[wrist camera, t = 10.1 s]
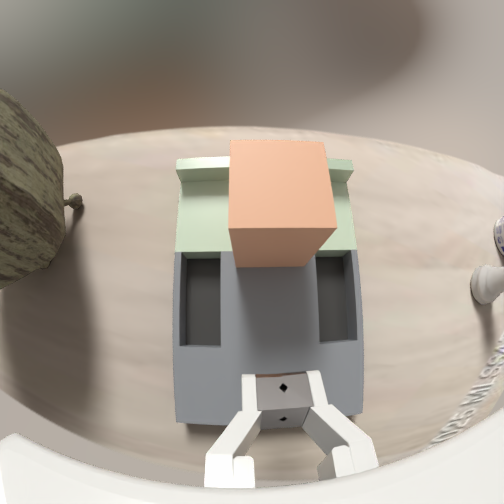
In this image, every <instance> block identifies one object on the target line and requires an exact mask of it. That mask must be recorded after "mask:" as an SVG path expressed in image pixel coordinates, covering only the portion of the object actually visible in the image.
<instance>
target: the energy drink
mask: <svg viewBox="0 0 504 504" xmlns="http://www.w3.org/2000/svg"><path fill="white" fill-rule="evenodd" d="M494 237H495V242H496V245H497V247H498V249H499V251H500V252H501V254H502V255H504V216H503V217H502V218H500V219H498V220H497V221H496V223H495V226H494Z"/></svg>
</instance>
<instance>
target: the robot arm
mask: <svg viewBox="0 0 504 504" xmlns="http://www.w3.org/2000/svg"><path fill="white" fill-rule="evenodd" d="M290 427H302V428H303V429H304V430H305V432H306V433H307V434H308V435H309V436H310V437H311V438H312V440H313V441H314V442H315V443H316V444H317V445H318V446H319V447H320V449H321V450H322V451H323V452H324V453H325V454H326V455H327V456H326V457H325V459H324V460H323V461H322V462H321V463H320V464H319V465H318V466H317V470H318V477H319V481H316V482H310V483H303V484H295V485H285V486H274V487H257V488H255V476H254V461H253V458H251V457H250V456H245V454H246V453H247V451H248V450H249V448H250V447H251V445H252V443H253V442H254V440H255V438H256V437H257V435H258V433H259V432H260V430H264V429H276V428H290ZM0 504H504V407H502V408H501V409H499V410H498V411H496V412H495V413H493V414H492V415H490V416H489V417H487V418H485V419H484V420H482V421H481V422H479V423H477V424H476V425H474V426H472V427H470V428H469V429H467V430H465V431H463V432H461V433H459V434H458V435H456V436H454V437H452V438H450V439H448V440H446V441H444V442H442V443H440V444H437V445H435V446H433V447H431V448H429V449H426V450H424V451H421V452H419V453H417V454H414V455H412V456H409V457H406V458H404V459H401V460H398V461H395V462H392V463H389V464H386V465H383V466H380V467H379V464H378V461H377V457H376V453H375V450H374V446H373V443H372V439H371V438H370V437H369V436H368V435H367V434H365V433H364V432H363V431H362V430H361V429H360V428H358V427H357V426H356V425H355V424H354V423H353V422H351V421H350V420H349V419H348V418H347V417H346V416H345V415H343V414H342V413H341V412H340V411H339V410H338V409H337V408H336V407H334V406H333V405H332V404H330V405H328V401H327V397H326V393H325V389H324V385H323V381H322V377H321V373H320V372H319V370H313V371H300V372H289V373H279V374H242V411H238V413H237V414H236V415H235V417H234V418H233V419H232V421H231V422H230V423H229V425H228V426H227V428H226V429H225V430H224V432H223V433H222V434H221V435H220V437H219V438H218V439H217V441H216V442H215V443H214V445H213V446H212V447H211V448H210V450H209V451H208V452H207V453H206V463H205V486H204V487H202V486H190V485H181V484H173V483H166V482H159V481H154V480H149V479H143V478H139V477H134V476H130V475H126V474H121V473H117V472H114V471H110V470H106V469H103V468H100V467H96V466H94V465H90V464H88V463H85V462H82V461H79V460H76V459H73V458H71V457H68V456H66V455H63V454H61V453H58V452H56V451H54V450H51V449H49V448H47V447H45V446H43V445H40V444H38V443H36V442H34V441H32V440H30V439H28V438H26V437H24V436H23V435H21V434H18V433H13V434H11V435H9V436H7V437H5V438H4V439H2V440H1V441H0Z"/></svg>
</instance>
